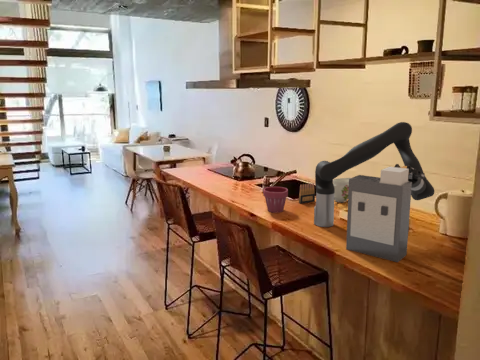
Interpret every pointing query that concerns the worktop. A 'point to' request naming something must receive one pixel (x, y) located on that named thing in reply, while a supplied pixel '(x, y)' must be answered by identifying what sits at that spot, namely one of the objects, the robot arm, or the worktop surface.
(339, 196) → the pitcher
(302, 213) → the worktop surface
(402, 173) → the block
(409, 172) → the robot arm
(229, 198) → the worktop surface
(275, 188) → the plant pot
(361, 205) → the box
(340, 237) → the worktop surface
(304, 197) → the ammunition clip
